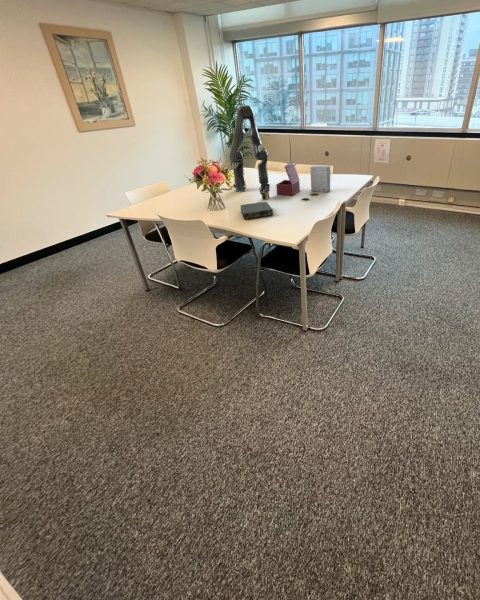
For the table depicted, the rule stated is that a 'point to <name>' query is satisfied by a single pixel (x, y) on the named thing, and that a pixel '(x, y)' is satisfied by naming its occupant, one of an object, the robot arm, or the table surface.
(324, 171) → the hard drive box
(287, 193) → the dark red box
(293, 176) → the purple box lid
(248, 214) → the network switch
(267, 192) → the block
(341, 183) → the table surface
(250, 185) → the table surface
